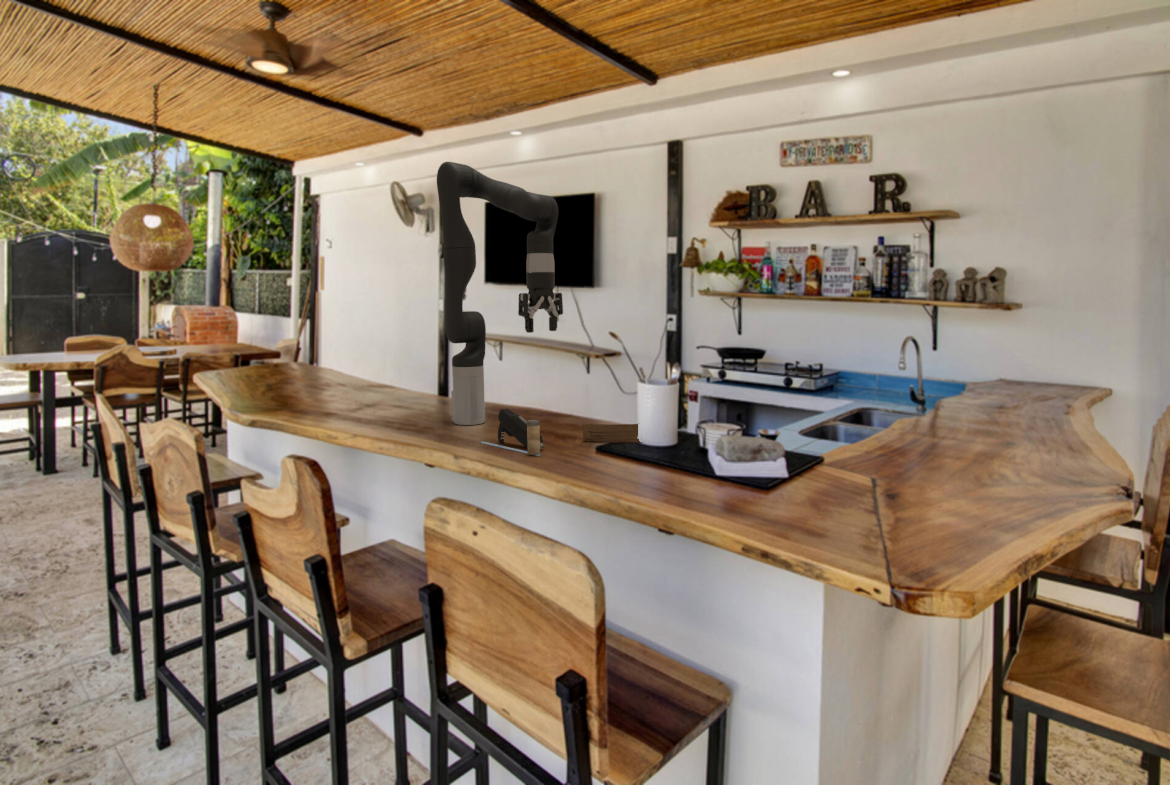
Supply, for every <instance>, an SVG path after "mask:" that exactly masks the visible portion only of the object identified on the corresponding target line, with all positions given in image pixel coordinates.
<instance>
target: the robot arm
mask: <svg viewBox="0 0 1170 785" xmlns="http://www.w3.org/2000/svg"><path fill="white" fill-rule="evenodd" d="M436 188H437V194H438V195H437V196H438V202H439V208H440V215H441V216H440V217H441V227H442V228H441V229H442V244H443V245H442V249H443V250H442V251H443V253H442V255H443V265H444V266H443V268H444V280H445V282H444V284H445V301H444V302H445V304H444V331H445V335H446V338H447V340H448V342H450V343H452V344H465V346H464V348H463V350H461V351H460V352H458V353H456V354H454V355H453V357H452V358H451V369H452V370H451V372H452V374H451V375H452V391H451V417H452V418H451V420H452V422H453V424H455V425H459V426H472V425H473V426H474V425H480V424H483V423H486V414H485V413H486V411H485V410H486V405H485V404H486V403H485V400H486V399H485V374H484V373H485V372H484V371H485V370H484V360H485V357H486V339H487V338H486V337H487V336H486V335H487V334H486V328H487V327H486V321H485V319H484V318H485V317H484V316H483V314H482V313H481V312H479V311H473V310H471V311H465V310H463V307H464V306H463V302H464V295H465V292H466V289H467V287H468V285H469V282H470V281H471V279H472V277H473V275H474V273H475V271H476V267H477V253H476V252H477V250H476V249H477V248H476V243H475V239H474V237H473V234H472V233H471V230H470V228H469V226H468V224H467V222H466V220H465V218H464V216H463V213H462V208H461V199H462V198H470V199H471V198H472V199H473V198H474V199H481V200H484V201H487V202H488V203H490V204H491V205H493V206H494V207H496V208H499V209H502V210H504V211H506V212H509V213H512V214H515V215H516V216H518V217H520V218H522V219H524V220H527V221H530V222H536V225H535V229H534V230H532V231H529V232H528V234H527V235H526V254H527V255H526V262H525V263H526V266H525V267H526V268H525V269H526V288H527V290H528V292H521V293H519V294H518V310H517V311H518V313H517V314H518V316H519V317H523V318H524V329H525V331H526V333H530V334H531V333H534V318H533V317H534V315H535V314H536V313H537V312H538V310H544V311H545V312H547V314H548V316H549V317H548V330H549V331H550V332H556V331H557V330H558V317H559V316H560V315H563V314H564V304H563V294H562V292H554V291H553V290H554V289H555V287H556V286H555V285H556V284H555V282H556V281H555V280H556V278H555V277H556V276H555V274H556V273H555V258H554V236H555V233H556V229H557V223H558V217H559V206H558V203H557V201H556V199H555V198H554V197H553V196H550V195H546V194H539V193H535V192H531V191H527V190H526V189H524V188H523V187H519V186H516V185H513V184H511V183H508V182H504V181H502V180H501V181H499V180H496V179H493V178H490V177H489V176H487V175H485V174H483V173H481V172H480V171H478V170H476V169H475V168H473V167H472V166H470V165H466V164H463V163H457V162H452V161H444V162H443V163H441V164H440V166H439V167H438V170H437V172H436Z"/></svg>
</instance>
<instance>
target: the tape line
mask: <svg viewBox="0 0 1170 785" xmlns="http://www.w3.org/2000/svg"><path fill="white" fill-rule="evenodd" d="M480 444H483V445H487V446H490V447H491V446H492V447H496V448H500V449H505V450H508V451H512V452H513V451H514V452H518V453H522V454H526V455H528V450H527V451H526V450H523V449H518V448H512V447H508V446H505V445H501V444H496V443H492V442H487V441H481V442H480ZM534 456H535V457H541V456H542V455H541V453H540V454H539V455H534Z"/></svg>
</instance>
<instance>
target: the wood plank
mask: <svg viewBox="0 0 1170 785" xmlns="http://www.w3.org/2000/svg"><path fill="white" fill-rule="evenodd" d="M638 424H639V423H631V424H630V423H628V424H627V423H625V424H621V423H620V424H605V423H604V424H603V423H602V424H599V423H582V441H585V442H587V441H588V442H596V443H597V442H598V443H614V444H615V443H618V444H619V443H622V444H623V443H626V444H627V443H629V444H630V443H634V444H637V443H638V444H639V442H640V441H639V439H637V436H638Z"/></svg>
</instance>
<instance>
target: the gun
mask: <svg viewBox="0 0 1170 785" xmlns="http://www.w3.org/2000/svg"><path fill="white" fill-rule="evenodd" d="M497 415H498V416H497V419H498V422H499V426H498V429H497V439H498V443H499V444H500V445H501V444H504V443H505V440H504V438H505V434H506V435H507V436H508V437H511V438H515V439H516V440H517V441H518V442H519V443H520V444H522V446H524V447H525V448H526V449H527V450H528V446H527V421H528V420H526V419H525V418H523V417H522V416H521V415H519V414H518V413H516V412H515V411H512V410H510V409H508V408H502V409H500V410H499V413H498V414H497ZM543 442H544V439H543V436H542V435H541V434H540V450H542V449H544V447H545V445H544V444H543Z"/></svg>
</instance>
